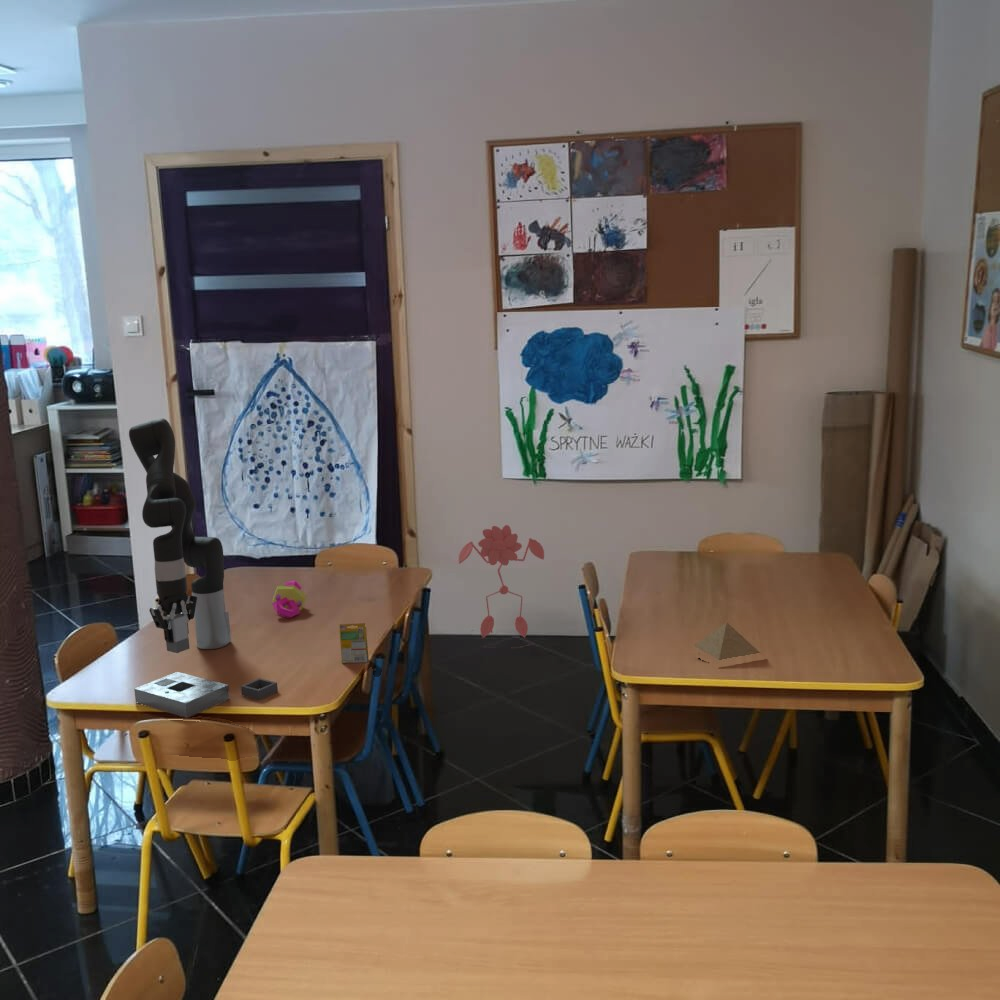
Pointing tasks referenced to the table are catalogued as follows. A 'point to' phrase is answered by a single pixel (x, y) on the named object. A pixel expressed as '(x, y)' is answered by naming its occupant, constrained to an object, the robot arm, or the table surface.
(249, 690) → the dark grey square frame
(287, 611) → the toy
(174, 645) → the plug
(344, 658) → the crayon box
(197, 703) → the port panel
